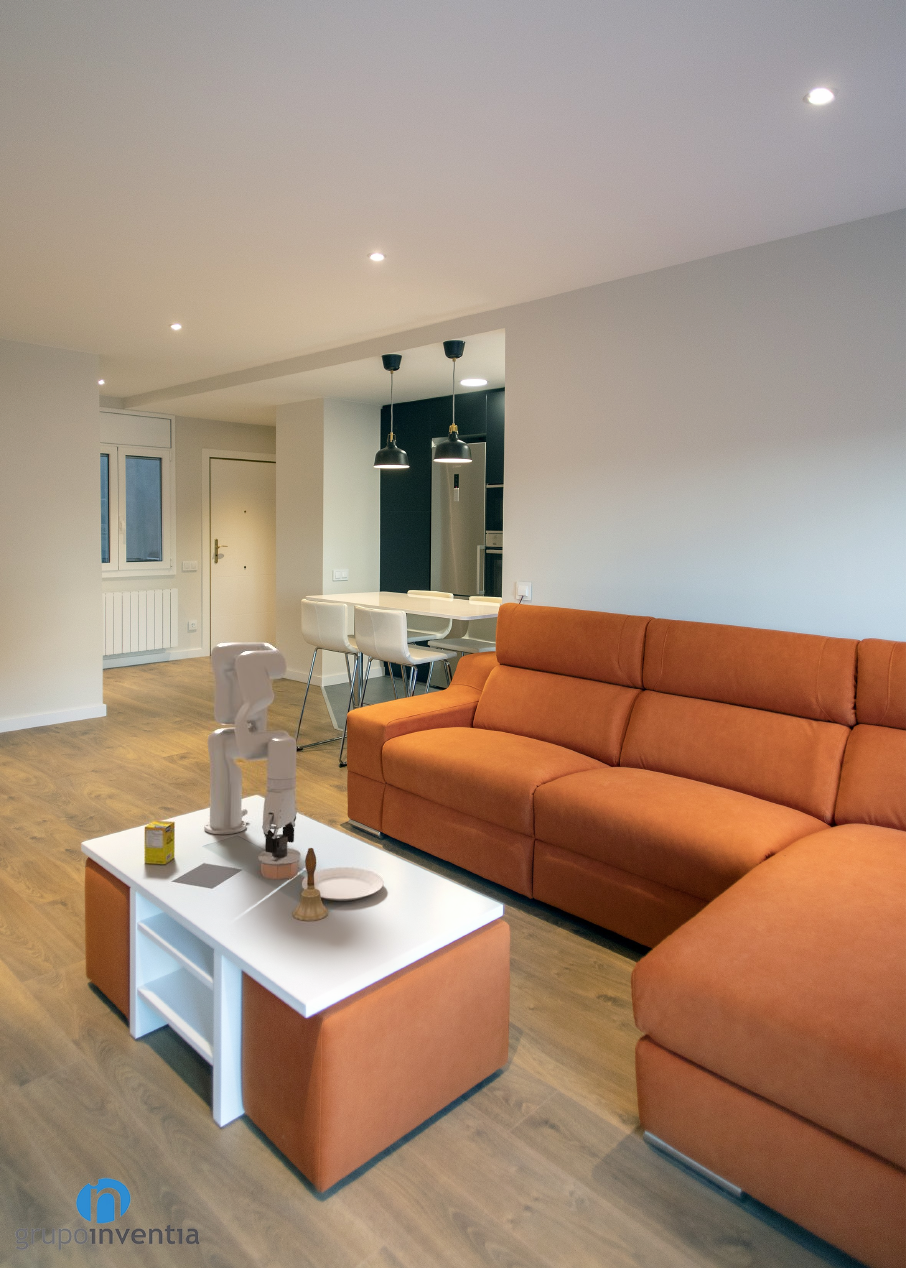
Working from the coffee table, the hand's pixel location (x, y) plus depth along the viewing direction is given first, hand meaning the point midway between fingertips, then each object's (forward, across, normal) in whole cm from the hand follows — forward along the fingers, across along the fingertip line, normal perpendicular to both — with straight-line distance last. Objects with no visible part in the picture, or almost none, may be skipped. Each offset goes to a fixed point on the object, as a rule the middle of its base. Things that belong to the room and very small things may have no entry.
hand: (279, 846), depth 214 cm
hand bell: (+8, +19, +19) cm, 28 cm away
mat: (+8, +9, -16) cm, 20 cm away
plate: (+8, +3, +20) cm, 22 cm away
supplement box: (+8, +5, -34) cm, 35 cm away
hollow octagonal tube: (+8, 0, 0) cm, 8 cm away
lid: (+3, 0, 0) cm, 3 cm away
